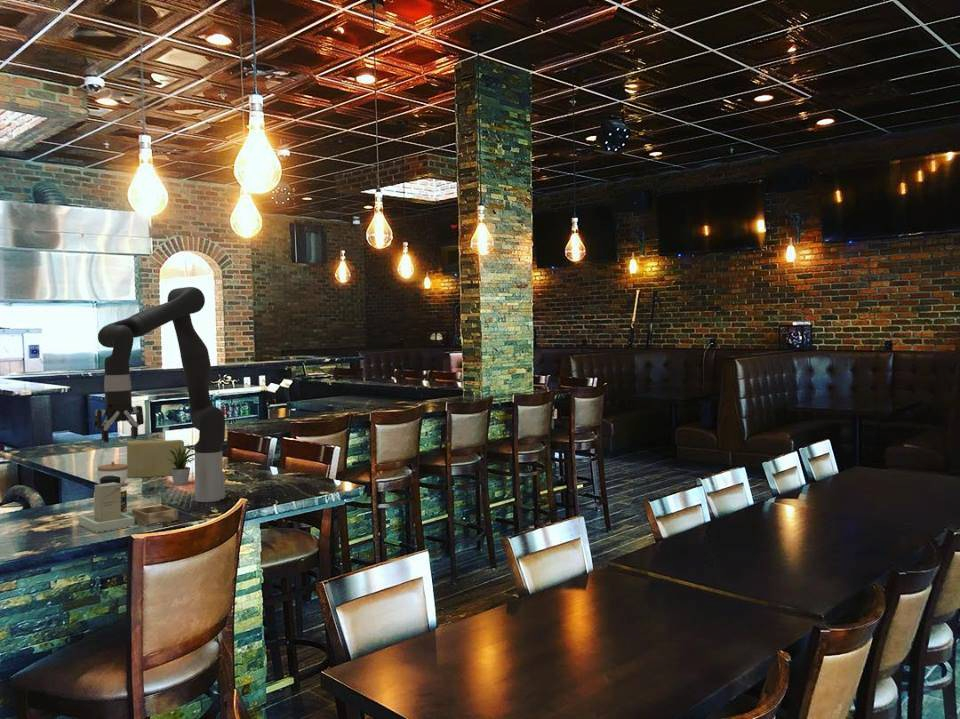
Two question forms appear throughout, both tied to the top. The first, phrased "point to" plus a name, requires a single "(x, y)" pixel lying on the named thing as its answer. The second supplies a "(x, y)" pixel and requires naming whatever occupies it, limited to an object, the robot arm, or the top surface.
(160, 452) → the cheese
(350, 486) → the top surface
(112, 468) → the lidded jar
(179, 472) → the house plant
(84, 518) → the tray
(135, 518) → the wooden square box
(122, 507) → the medicine bottle
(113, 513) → the skincare box
